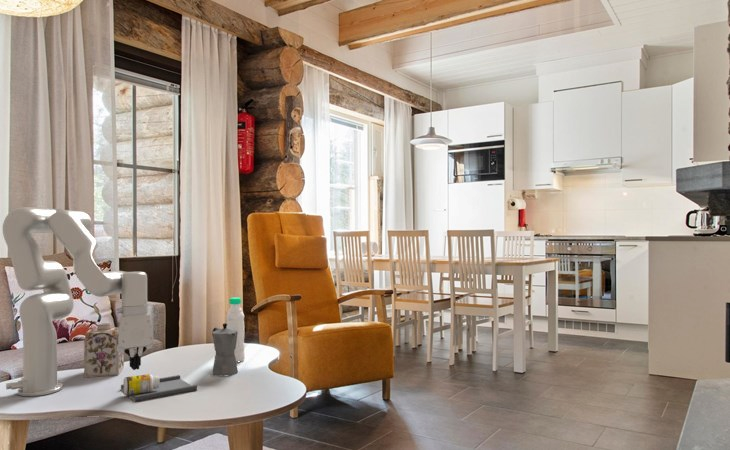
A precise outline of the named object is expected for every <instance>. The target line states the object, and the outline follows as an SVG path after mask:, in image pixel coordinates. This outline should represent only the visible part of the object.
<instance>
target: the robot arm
mask: <svg viewBox="0 0 730 450" xmlns="http://www.w3.org/2000/svg"><path fill="white" fill-rule="evenodd" d="M92 228H93V220H92V218H91V217H90V215H88V213H86V212H84V211H81V210H73V209H72V210H71V209H70V210H69V209H62V208H61V209H60V208H51V207H49V208H47V207H36V206H34V207H33V206H28V207H27V206H26V207H25V206H24V207H18V208H15V209H13V210H11V211H10V212H9V213H8V214H7V215H6V217H5V218H4V220H3V223H2V235H3V236H2V237H3V238H4V241H5V243H6V246H7V249H8V251H9V255H10V260H11V263H12V266H13V270H14V271H13V272H14V274H15V279H16V282H17V285H18V287H19V288H20V289H22V290H23V291H27V292H28V291H29V292H32V291H34V292H35V291H40V290H41V291H43V292H41V293H40V292H39V293H35V294H32V295H29V296H27V297H25V298H24V299H23V300H22V302H21V303H20V306H19V309H18V313H19V318H20V323H21V327H22V345H23V347H22V350H23V352H22V353H23V356H22V358H23V360H22V362H23V363H22V364H23V365H22V366H23V376H22V377H20V379H21V380H17V381H16V382H8V383H7V382H6V383H5V389H6V391H7V390H17V395H19V396H21V397H38V396H44V395H50V394H54V393H57V392H60V391H62V389H63V383H61V382H58V333H57V330H56V328H55V325H54V323H53V321H55V320H61V319H64V318H66V317H68V316H69V315H71V313H72V312H73V309H74V305H75V304H74V302H75V301H74V297H73V293H72V289H71V287H70V281H69V279H68V274H67V272H66V270H65V268H64V266H63V265H62V264H60V262H58V261H55V260H44V258H43V255H42V252H41V248H40V246H39V244H38V242H37V241H36V240H35V239H34V237H33V236H32V234H54V236H55V238H56V239H57V240H58V241H59V242H60V244H62V245H63V247H64V248H65V250H66V251H67V252H68V254H70V256H71V257H72V265H73V270H74V273H75V276H76V277H77V279H78V280H79V282H80V283H81V284H82V286H83V287H84V288H85V289H86V290H87V291H88V292H89V293H90V294H91V295H92V296H95V297H97V298H98V297H100V298H102V297H108V296H115V295H119V294H121V306H120V307H119V308H116V313H118V314H121V315H119V318H118V322H117V327H118V330H117V345H118V346H117V352H121V353H124V354H127V355H128V357H129V367H130V368H131V369H132V370H133V371H135V370H140V366H141V365H142V364H141V363H142V360H141V358H142V356H143V354H144V353H145V352H146V351H147V350H149V349H152V348H153V347H154V345H153V344H154V331H153V330H154V327H153V322H152V315H151V313H148V274H147V273H146V272H145V271H125V270H124V271H123V270H112V271H111V270H110V271H103V270H101V268H100V267H99V265H97V263H96V262H95V260H94V258H93V253H95V251H96V250H97V248H98V245H99V244H98V241H97V239H95V237H94V236H93V235H92V234H91V233H90V232H91V229H92ZM134 349H135V351H134ZM127 355H126V356H127Z"/></svg>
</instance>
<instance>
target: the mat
mask: <svg viewBox="0 0 730 450" xmlns="http://www.w3.org/2000/svg"><path fill="white" fill-rule="evenodd" d="M120 390H121V391H122V392H123V393H124V383H123V384H121V385H120ZM195 391H198V385H196V384H193V385H191V384H190V383H188V382H186V381H185V380H184V379H182V378H181V375H179V374H178V375H172V376H165V377H159V388H157V389H153V390H152V392H147V393H140V394H132V395H127V396H128V397H129V398H130V399H132V400H133V401H134V402H135V403H137V402H143V401H148V400H153V399H154V400H155V399H158V398H165V397H168V396H173V395H179V394H185V393H190V392H195Z"/></svg>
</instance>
